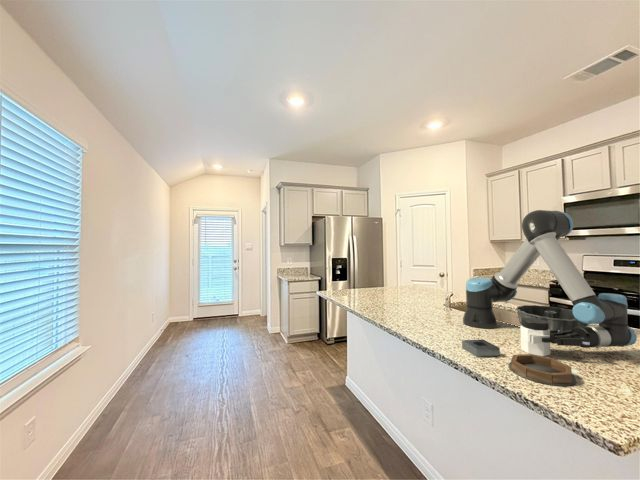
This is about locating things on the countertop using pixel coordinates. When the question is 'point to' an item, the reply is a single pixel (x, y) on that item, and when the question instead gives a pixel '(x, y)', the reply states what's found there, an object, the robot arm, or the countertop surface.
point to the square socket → (480, 348)
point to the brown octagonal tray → (542, 370)
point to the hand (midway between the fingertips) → (530, 338)
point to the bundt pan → (550, 316)
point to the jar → (534, 328)
